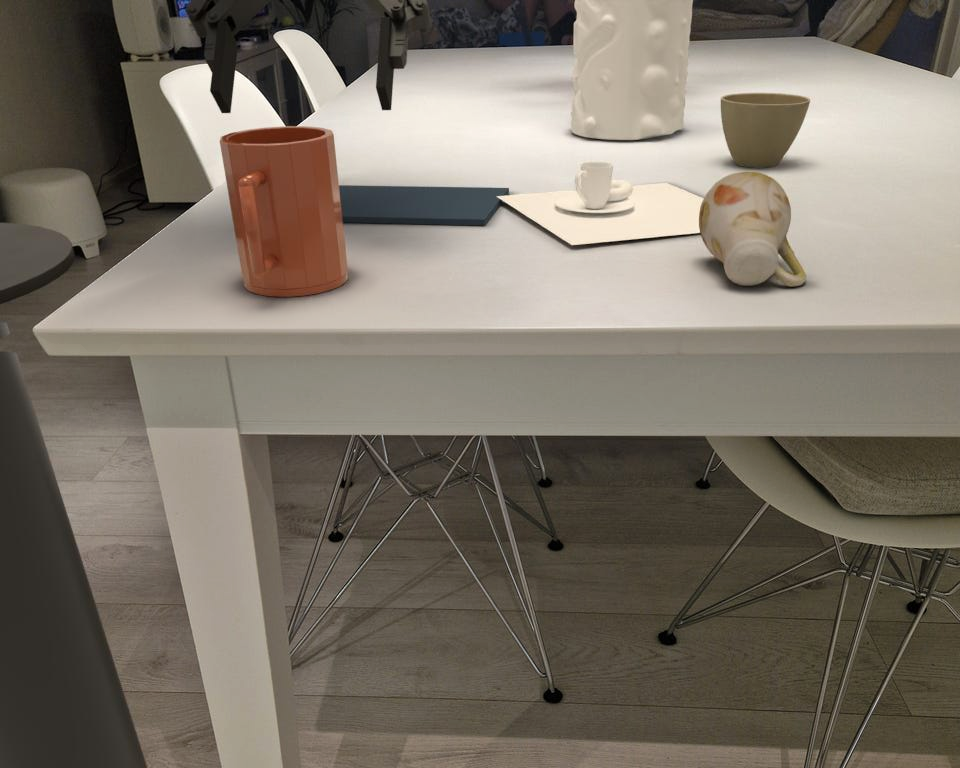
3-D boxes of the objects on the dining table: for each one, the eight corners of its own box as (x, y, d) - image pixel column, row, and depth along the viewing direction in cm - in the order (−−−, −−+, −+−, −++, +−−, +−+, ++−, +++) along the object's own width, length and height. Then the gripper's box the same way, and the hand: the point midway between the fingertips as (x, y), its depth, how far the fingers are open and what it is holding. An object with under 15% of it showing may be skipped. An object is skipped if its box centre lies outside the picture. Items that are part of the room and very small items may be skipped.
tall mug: (268, 264, 79) (247, 126, 73) (361, 267, 78) (347, 126, 72) (210, 307, 70) (181, 152, 64) (315, 311, 68) (295, 153, 62)
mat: (289, 221, 92) (288, 215, 92) (334, 190, 104) (333, 185, 103) (484, 225, 89) (484, 219, 88) (509, 193, 100) (509, 187, 100)
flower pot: (746, 175, 105) (755, 106, 101) (697, 160, 112) (703, 96, 108) (818, 166, 108) (829, 99, 104) (765, 153, 115) (774, 89, 111)
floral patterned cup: (705, 297, 69) (687, 164, 69) (712, 315, 79) (696, 198, 78) (810, 276, 67) (792, 137, 66) (804, 297, 76) (788, 176, 76)
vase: (559, 125, 138) (563, -141, 120) (665, 120, 139) (685, -144, 121) (580, 145, 123) (589, -154, 106) (698, 139, 124) (727, -157, 107)
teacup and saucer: (619, 195, 96) (622, 154, 94) (655, 213, 90) (659, 168, 88) (541, 202, 94) (543, 159, 92) (573, 220, 87) (575, 175, 85)
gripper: (468, -83, 82) (458, 128, 77) (197, -73, 84) (172, 132, 80) (460, -164, 74) (447, 64, 70) (163, -151, 77) (133, 71, 72)
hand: (301, 101), depth 75 cm, fingers open, 13 cm apart
